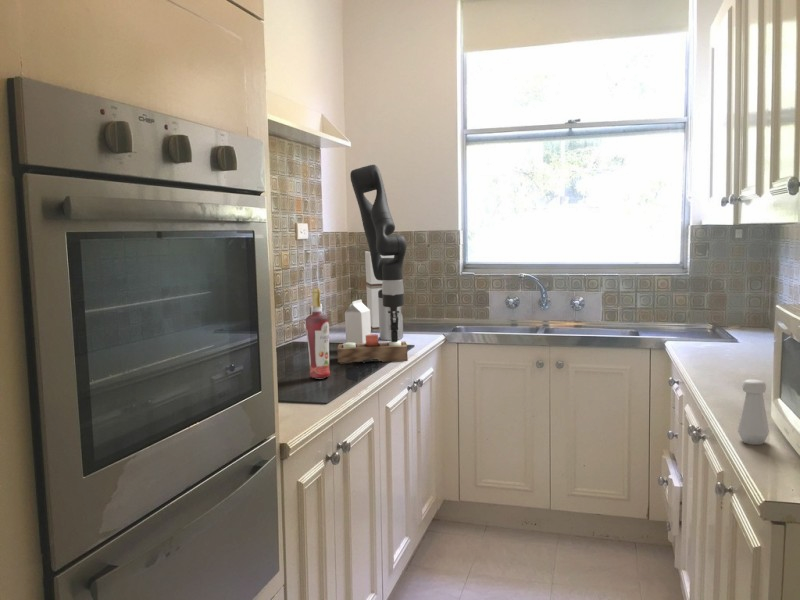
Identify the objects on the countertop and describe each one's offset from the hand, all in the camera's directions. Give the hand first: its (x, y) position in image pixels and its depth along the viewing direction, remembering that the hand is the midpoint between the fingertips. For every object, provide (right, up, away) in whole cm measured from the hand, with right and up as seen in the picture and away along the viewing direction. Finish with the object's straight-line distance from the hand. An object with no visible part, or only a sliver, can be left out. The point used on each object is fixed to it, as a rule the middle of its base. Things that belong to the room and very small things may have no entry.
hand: (394, 341), depth 241 cm
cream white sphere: (0, -4, 0) cm, 4 cm away
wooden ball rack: (-8, -6, 0) cm, 10 cm away
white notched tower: (-6, +1, +66) cm, 67 cm away
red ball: (-8, -1, 0) cm, 8 cm away
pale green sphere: (-16, -4, 0) cm, 16 cm away
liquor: (-23, -10, -26) cm, 36 cm away
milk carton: (-14, -5, +18) cm, 23 cm away
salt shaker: (+75, -15, -98) cm, 125 cm away
